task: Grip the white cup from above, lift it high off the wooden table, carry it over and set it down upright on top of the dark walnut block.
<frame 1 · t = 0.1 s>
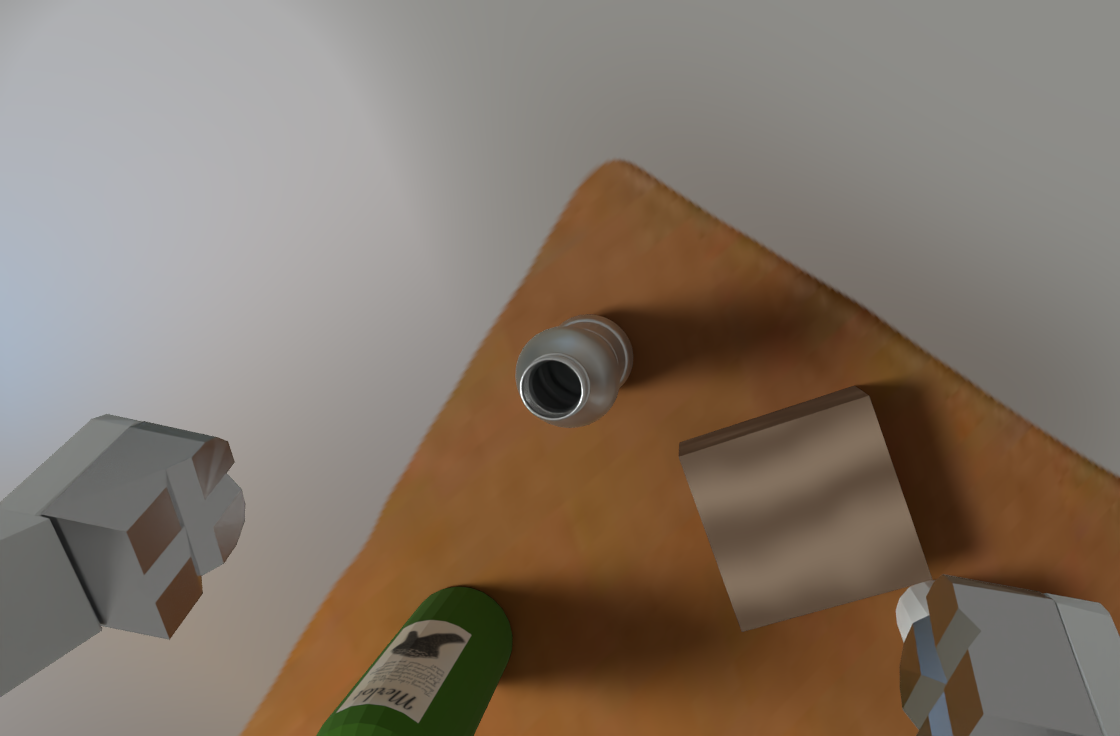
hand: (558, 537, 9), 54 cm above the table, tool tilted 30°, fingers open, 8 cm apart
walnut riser: (794, 498, 63), on the table
plastic bottle: (594, 353, 64), on the table
wine bottle: (463, 633, 69), on the table
white cup: (932, 613, 62), on the table
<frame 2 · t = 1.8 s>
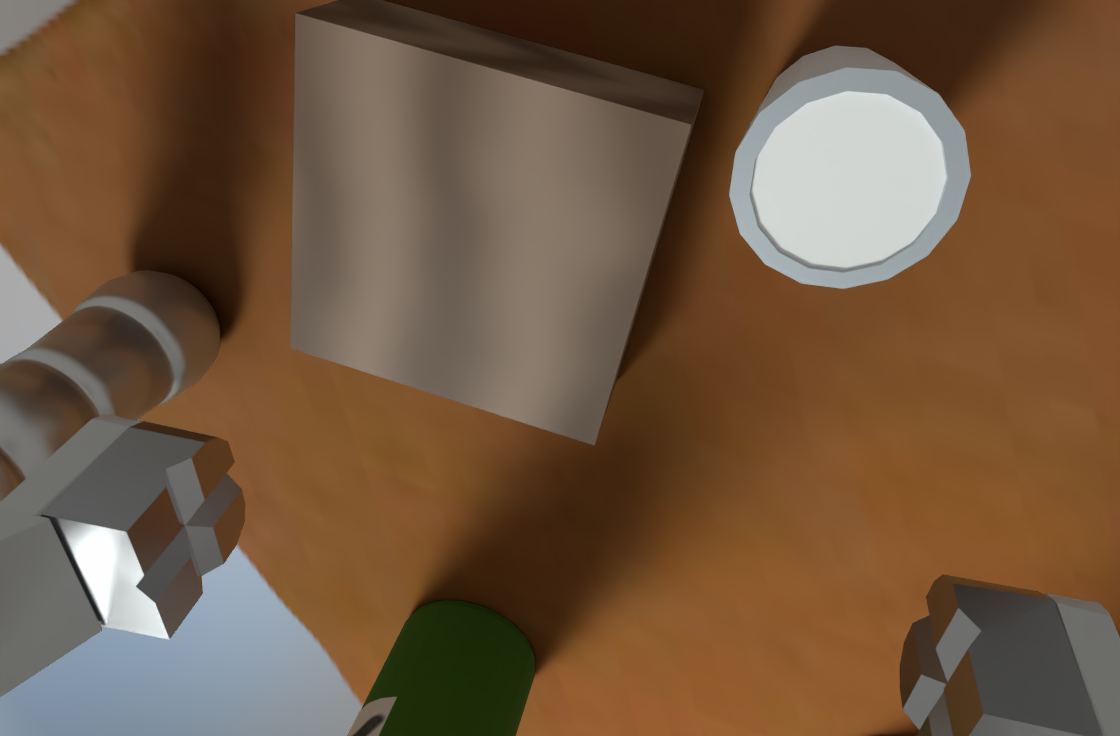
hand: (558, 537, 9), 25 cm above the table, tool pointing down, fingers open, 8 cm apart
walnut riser: (500, 207, 35), on the table
plastic bottle: (183, 310, 42), on the table
wine bottle: (471, 645, 51), on the table
white cup: (834, 123, 30), on the table
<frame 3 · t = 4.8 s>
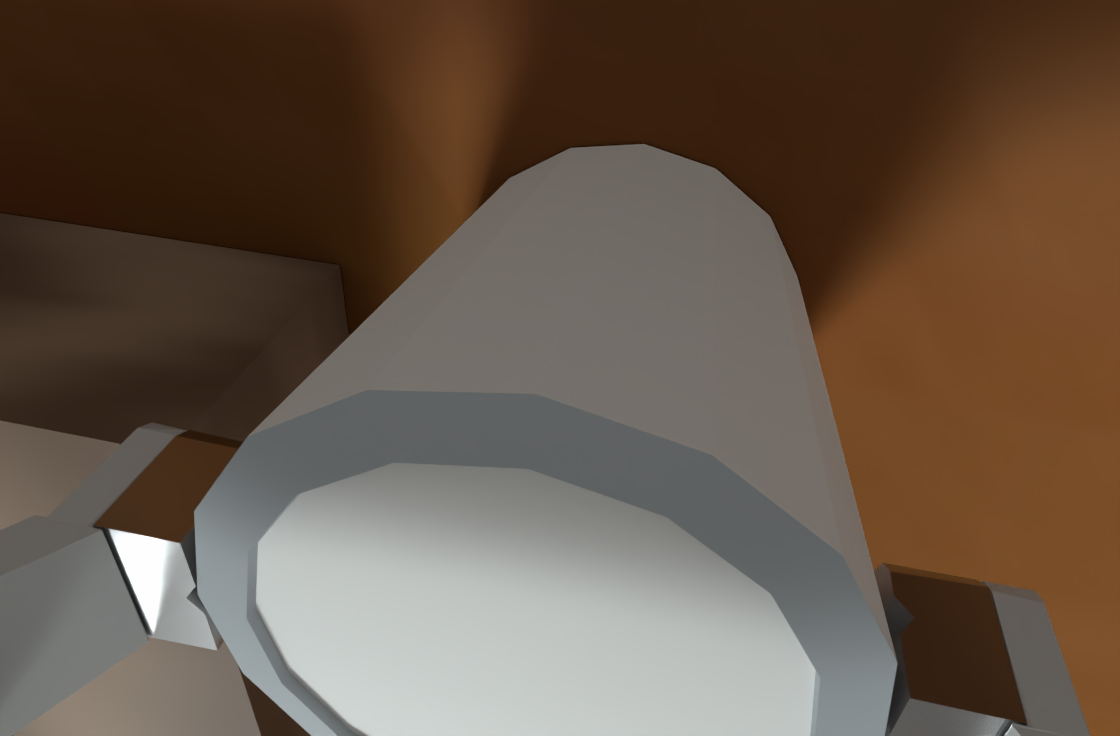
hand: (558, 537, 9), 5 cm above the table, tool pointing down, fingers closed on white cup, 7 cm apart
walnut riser: (98, 480, 19), on the table
white cup: (624, 302, 13), on the table, touching gripper
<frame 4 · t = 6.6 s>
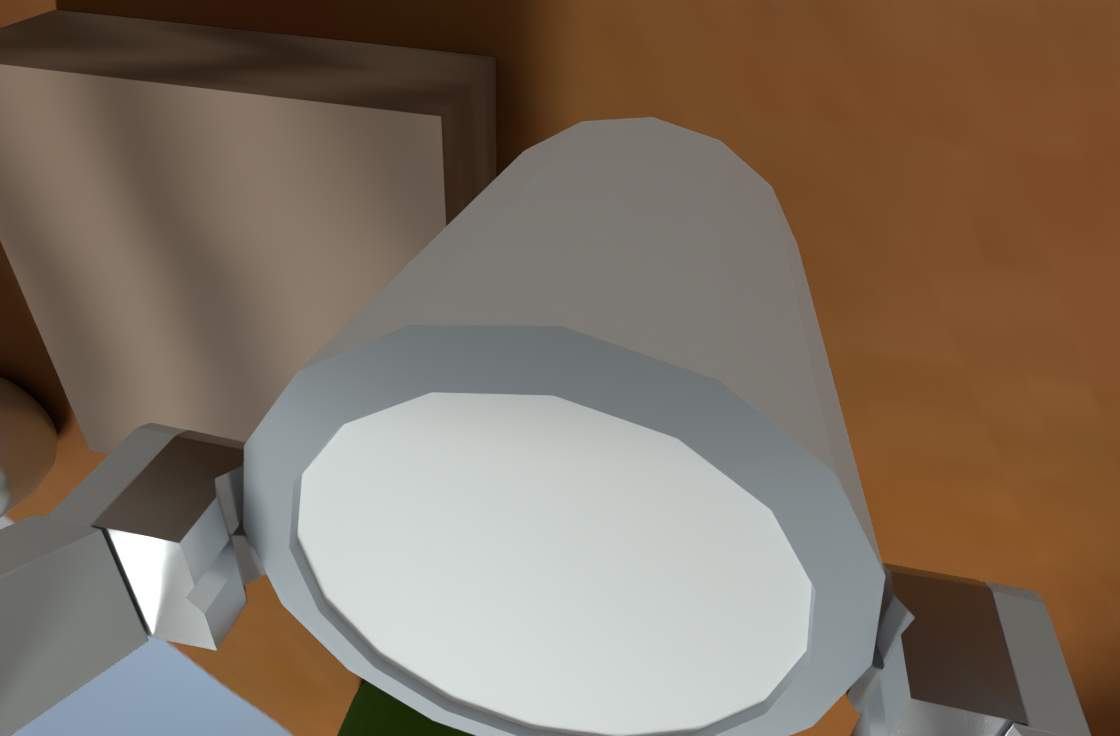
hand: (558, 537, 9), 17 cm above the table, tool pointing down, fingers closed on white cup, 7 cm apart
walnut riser: (302, 242, 28), on the table
plastic bottle: (15, 405, 37), on the table
wine bottle: (431, 712, 46), on the table
white cup: (632, 270, 14), point 10 cm above the table, touching gripper
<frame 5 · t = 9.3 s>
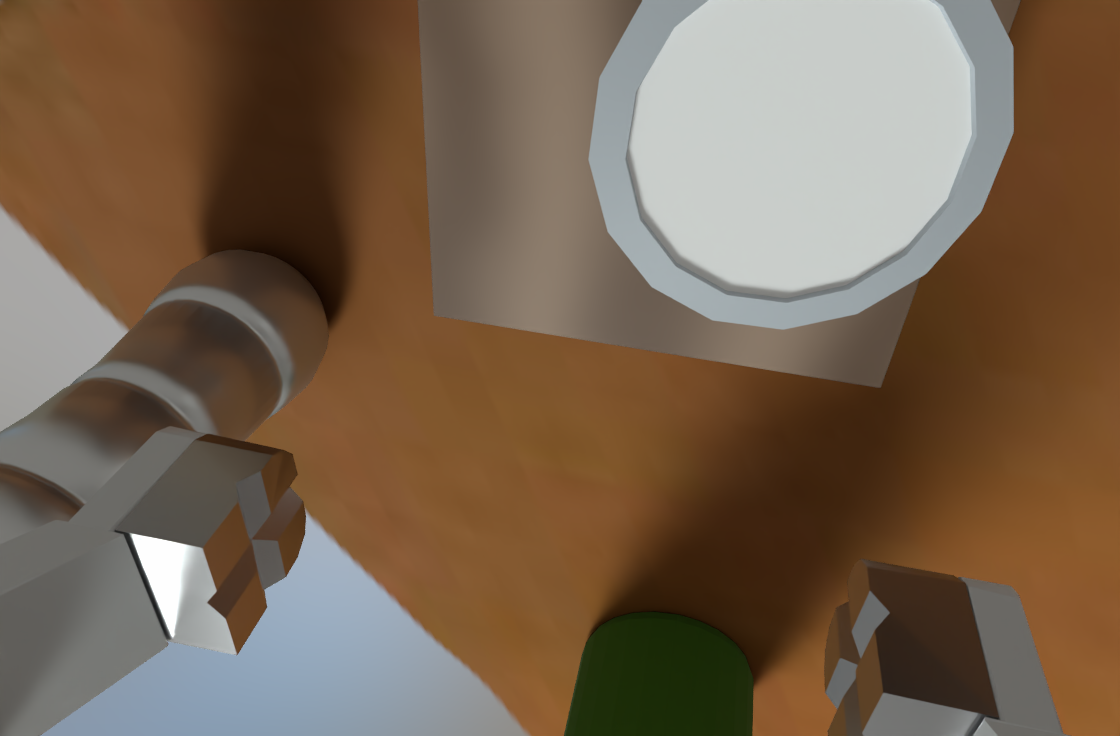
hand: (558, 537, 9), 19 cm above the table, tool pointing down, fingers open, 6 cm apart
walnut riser: (694, 76, 25), on the table
plastic bottle: (276, 298, 34), on the table
wine bottle: (666, 662, 42), on the table
white cup: (739, 66, 19), point 5 cm above the table, touching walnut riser
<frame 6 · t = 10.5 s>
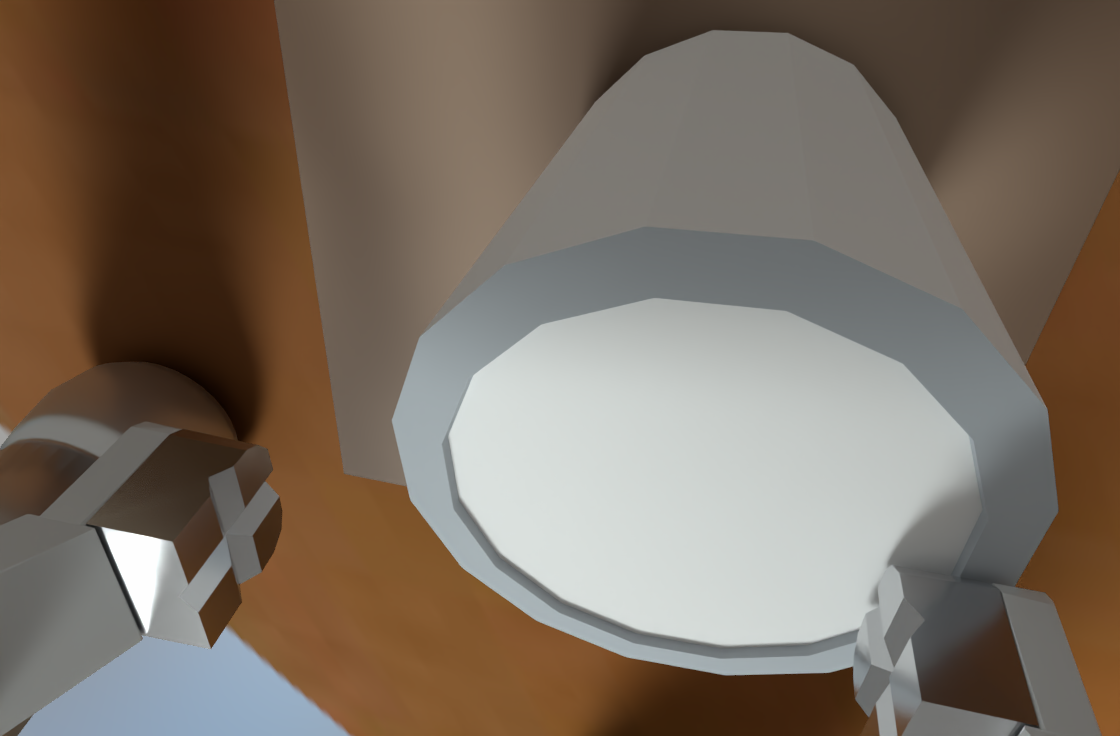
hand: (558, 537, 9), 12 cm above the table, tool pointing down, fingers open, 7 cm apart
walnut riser: (675, 174, 19), on the table
plastic bottle: (181, 410, 28), on the table
white cup: (730, 192, 14), point 5 cm above the table, touching gripper, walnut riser
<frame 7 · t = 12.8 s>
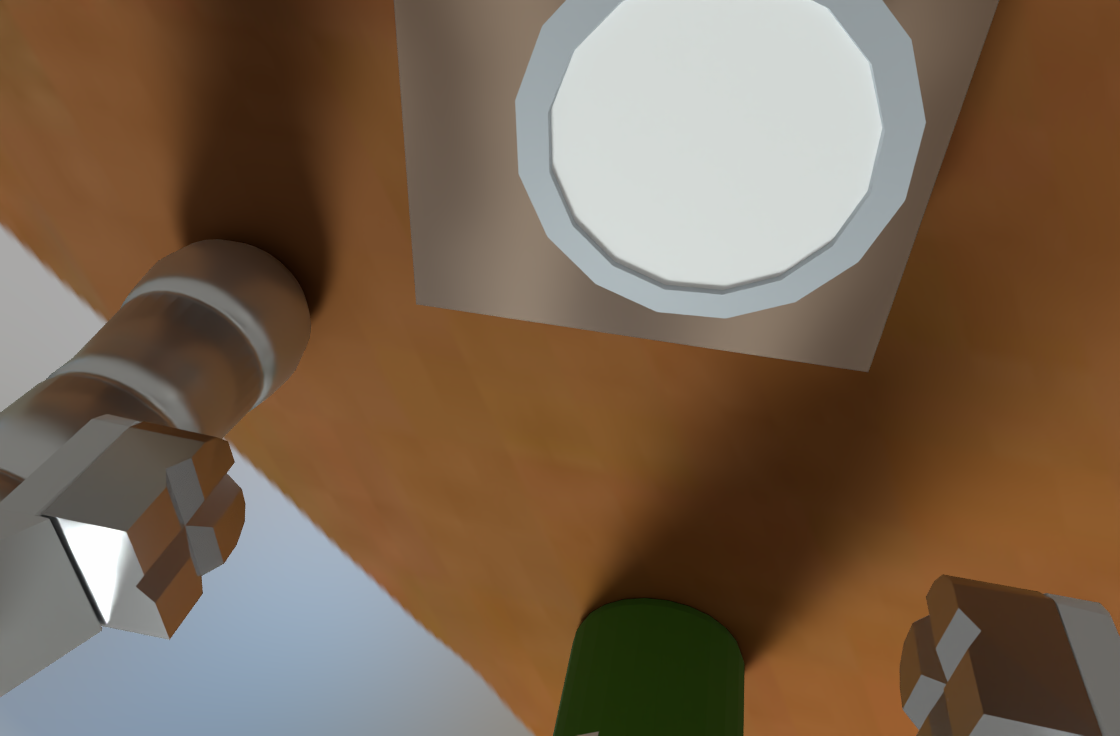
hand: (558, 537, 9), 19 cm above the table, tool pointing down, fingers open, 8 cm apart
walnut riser: (677, 57, 24), on the table
plastic bottle: (257, 288, 33), on the table
wine bottle: (657, 647, 42), on the table
white cup: (722, 40, 19), point 5 cm above the table, touching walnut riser
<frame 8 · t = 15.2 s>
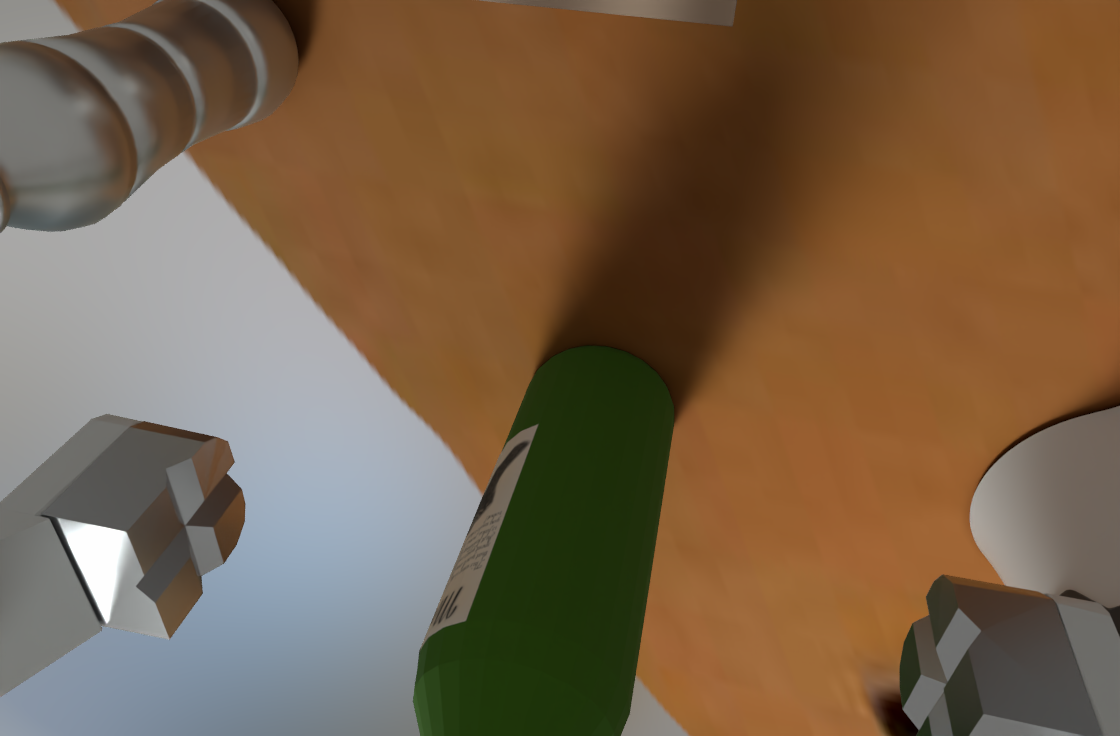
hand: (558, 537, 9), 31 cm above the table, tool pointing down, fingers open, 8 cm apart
plastic bottle: (255, 39, 40), on the table
wine bottle: (601, 402, 48), on the table
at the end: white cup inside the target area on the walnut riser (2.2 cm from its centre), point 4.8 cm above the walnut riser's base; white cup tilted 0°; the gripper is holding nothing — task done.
